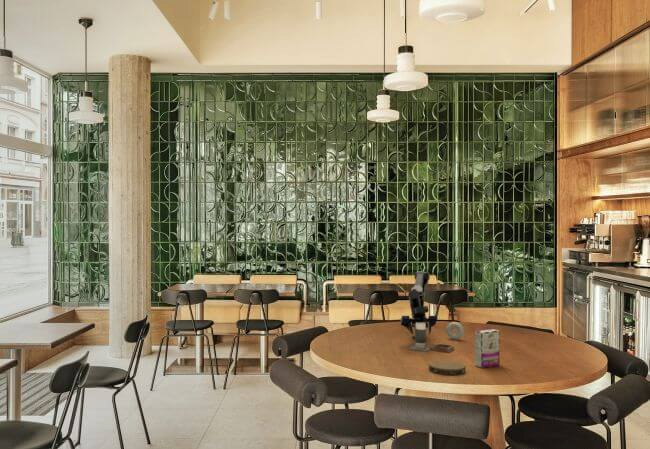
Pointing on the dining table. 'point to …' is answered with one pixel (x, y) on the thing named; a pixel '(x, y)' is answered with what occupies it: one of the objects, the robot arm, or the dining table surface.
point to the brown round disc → (447, 367)
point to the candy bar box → (487, 348)
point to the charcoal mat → (420, 349)
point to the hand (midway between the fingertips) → (421, 333)
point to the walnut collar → (443, 348)
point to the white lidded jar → (420, 335)
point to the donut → (457, 326)
